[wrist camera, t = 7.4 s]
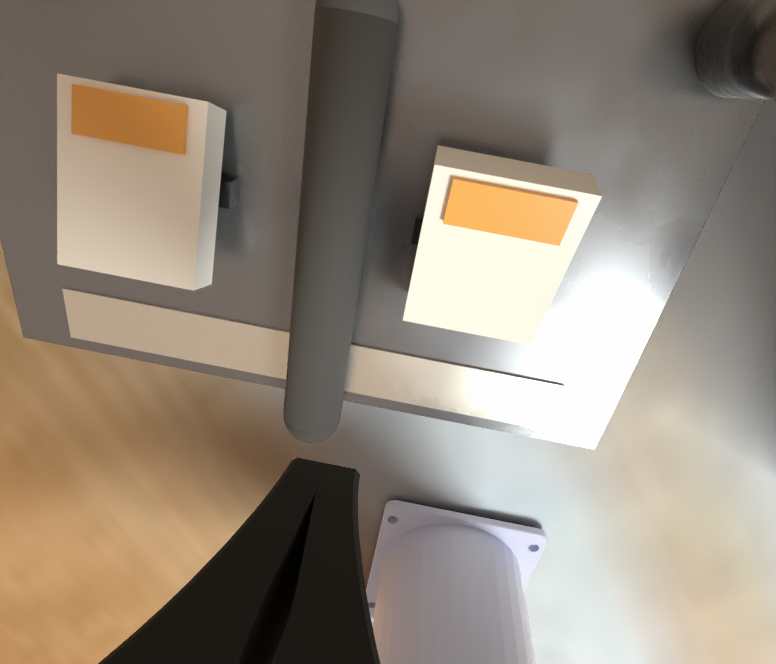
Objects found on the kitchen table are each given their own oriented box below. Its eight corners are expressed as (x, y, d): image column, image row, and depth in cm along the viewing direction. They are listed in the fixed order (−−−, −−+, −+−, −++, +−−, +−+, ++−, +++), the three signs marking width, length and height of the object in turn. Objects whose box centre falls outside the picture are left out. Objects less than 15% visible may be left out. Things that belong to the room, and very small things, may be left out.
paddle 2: (527, 319, 15) (530, 348, 14) (407, 296, 16) (401, 323, 15) (593, 174, 12) (603, 199, 11) (437, 144, 12) (433, 167, 11)
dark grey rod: (341, 423, 18) (330, 459, 16) (290, 413, 18) (274, 448, 17) (408, -18, 12) (402, -37, 10) (329, -33, 12) (309, -55, 10)
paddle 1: (211, 284, 15) (191, 291, 13) (85, 259, 15) (53, 264, 13) (226, 110, 13) (205, 100, 12) (88, 84, 13) (52, 71, 12)
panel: (582, 410, 20) (632, 527, 15) (64, 309, 20) (-70, 388, 15) (762, 8, 13) (973, -40, 8) (-15, -133, 14) (-306, -271, 8)
